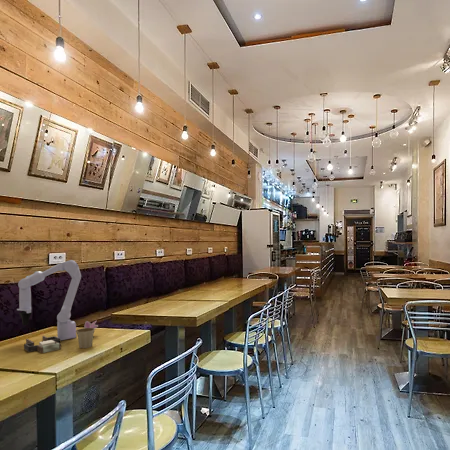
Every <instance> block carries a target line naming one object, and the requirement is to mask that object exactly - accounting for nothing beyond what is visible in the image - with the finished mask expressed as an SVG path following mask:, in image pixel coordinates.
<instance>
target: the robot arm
mask: <svg viewBox="0 0 450 450" xmlns="http://www.w3.org/2000/svg"><path fill="white" fill-rule="evenodd" d="M59 271H60V272H61V271H62V272H64V271H65V272H67V273H68V274H69V276H70V277H71V280H70V283H69V286H68V290H67V293H66V294H65V298H64V301H63V304H62V307H61V309H60V312H59V313H58V314H57V315H56V320H57V322H56V324H57V329H56V330H57V336H56V337H58V338H60V341H65V340H69V339H75V338H78V335H77V332H76V330H77V324H76V322H75V321H74V320H71V319H70V318H71V316H72V313H71V310H72V306H73V303H74V300H75V297H76V294H77V292H78V288H79V285H80V282H81V278H82V273H81V270H80V267H79V264H78V263H77V262H76V260H74V259H70V260H67V261H64V262H61V263H58V264H56V265H53V266H51V267H50V268H48V269H46V270H44V271H40V270H39V271H34V273H32V274H29V275H27V276H25V278H20V280H18V284H17V286H18V288H19V291H18V293H19V294H18V295H19V296H18V302H19V308H16V311H21V312H18V315H19V316H20V318H21V322H22V325H23V326H28V325H29V321H30V317H31V316H32V312H33V311H32V291H31V287H32V286H34V285H37V284H39V283H40V282H41V283H42V282H43V281H45V278H46V277H47V276H50V275H52V274H54V273H56V272H59Z"/></svg>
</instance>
